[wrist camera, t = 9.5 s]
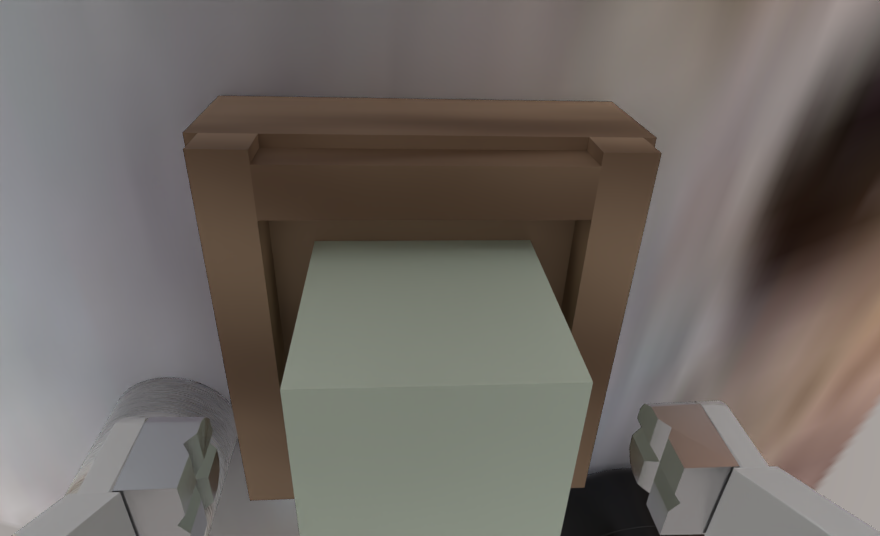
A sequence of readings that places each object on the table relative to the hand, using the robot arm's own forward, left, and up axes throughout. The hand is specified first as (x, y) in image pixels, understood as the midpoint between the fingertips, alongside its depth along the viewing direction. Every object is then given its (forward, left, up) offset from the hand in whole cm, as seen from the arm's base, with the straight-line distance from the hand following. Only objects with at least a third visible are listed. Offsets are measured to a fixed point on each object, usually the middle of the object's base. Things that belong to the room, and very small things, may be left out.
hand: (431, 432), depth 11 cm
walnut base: (+1, 0, -7) cm, 7 cm away
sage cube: (+1, 0, -4) cm, 4 cm away
